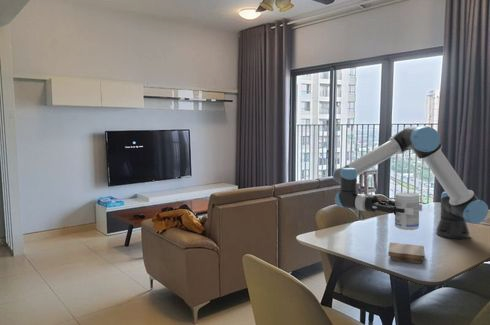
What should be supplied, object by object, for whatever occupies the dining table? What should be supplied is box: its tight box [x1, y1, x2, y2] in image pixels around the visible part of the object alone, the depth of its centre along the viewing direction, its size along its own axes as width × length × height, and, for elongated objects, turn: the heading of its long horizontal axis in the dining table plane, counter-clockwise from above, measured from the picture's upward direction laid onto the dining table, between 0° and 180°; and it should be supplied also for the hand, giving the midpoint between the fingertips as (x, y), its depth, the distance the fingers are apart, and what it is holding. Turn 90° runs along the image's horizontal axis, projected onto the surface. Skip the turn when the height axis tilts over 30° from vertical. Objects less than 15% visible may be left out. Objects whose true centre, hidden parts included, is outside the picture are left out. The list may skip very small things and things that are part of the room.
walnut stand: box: [387, 242, 426, 265], centre depth 161 cm, size 14×14×4 cm
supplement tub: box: [394, 192, 420, 231], centre depth 159 cm, size 10×10×15 cm
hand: (417, 209), depth 156 cm, fingers closed on supplement tub, 9 cm apart
